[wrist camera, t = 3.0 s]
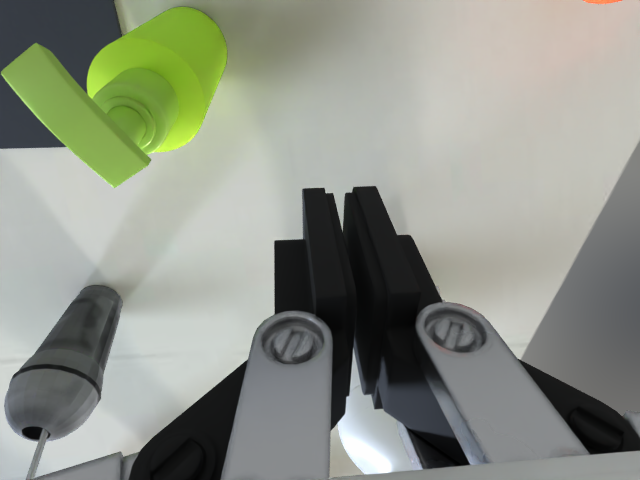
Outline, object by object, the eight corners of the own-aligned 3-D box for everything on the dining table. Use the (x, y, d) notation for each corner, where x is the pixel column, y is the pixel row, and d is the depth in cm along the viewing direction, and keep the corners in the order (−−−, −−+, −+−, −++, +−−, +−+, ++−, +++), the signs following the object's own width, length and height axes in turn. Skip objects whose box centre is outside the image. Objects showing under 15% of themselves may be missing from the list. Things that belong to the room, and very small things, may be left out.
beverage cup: (57, 273, 44) (-72, 469, 27) (131, 276, 45) (50, 467, 28) (71, 323, 48) (-34, 519, 31) (139, 325, 49) (71, 515, 32)
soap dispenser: (182, -26, 30) (71, 8, 13) (242, 62, 33) (211, 172, 17) (121, 23, 31) (-47, 107, 15) (185, 102, 35) (107, 239, 18)
